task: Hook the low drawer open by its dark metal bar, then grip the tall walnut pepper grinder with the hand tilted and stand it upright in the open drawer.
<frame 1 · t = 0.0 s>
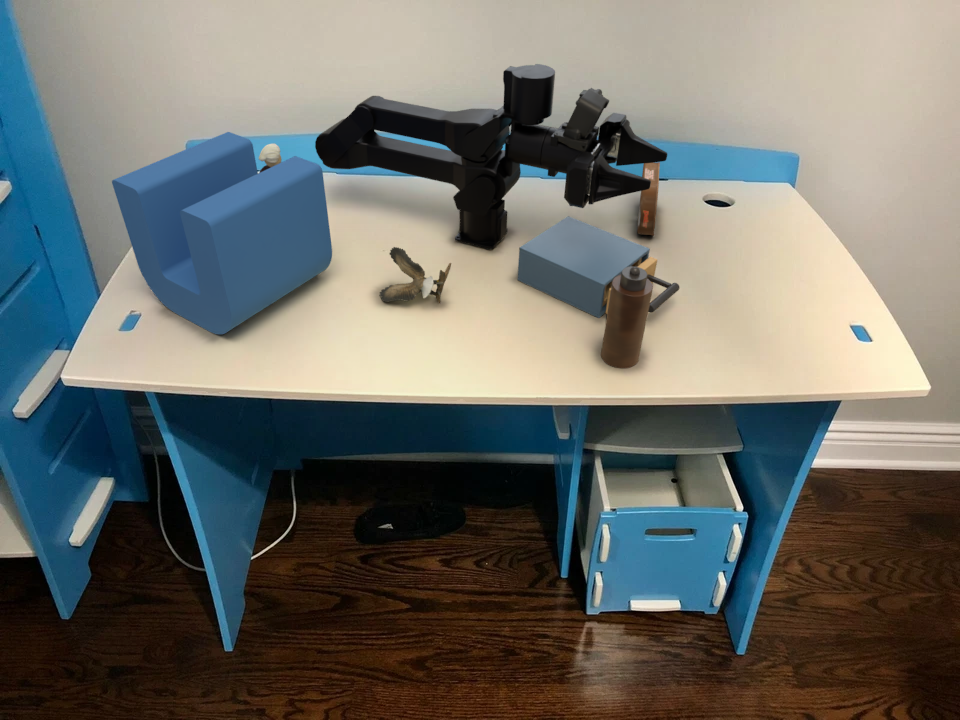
hand: (658, 170, 101), 17 cm above the table, tool horizontal, fingers open, 9 cm apart
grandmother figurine: (282, 220, 122), on the table
cabinet: (580, 280, 110), on the table
drawer: (609, 276, 106), point 3 cm above the table, slide at 0.5 cm
tin: (644, 222, 124), on the table
block: (244, 292, 106), on the table
eagle figurine: (413, 297, 106), on the table
grinder: (619, 356, 97), on the table
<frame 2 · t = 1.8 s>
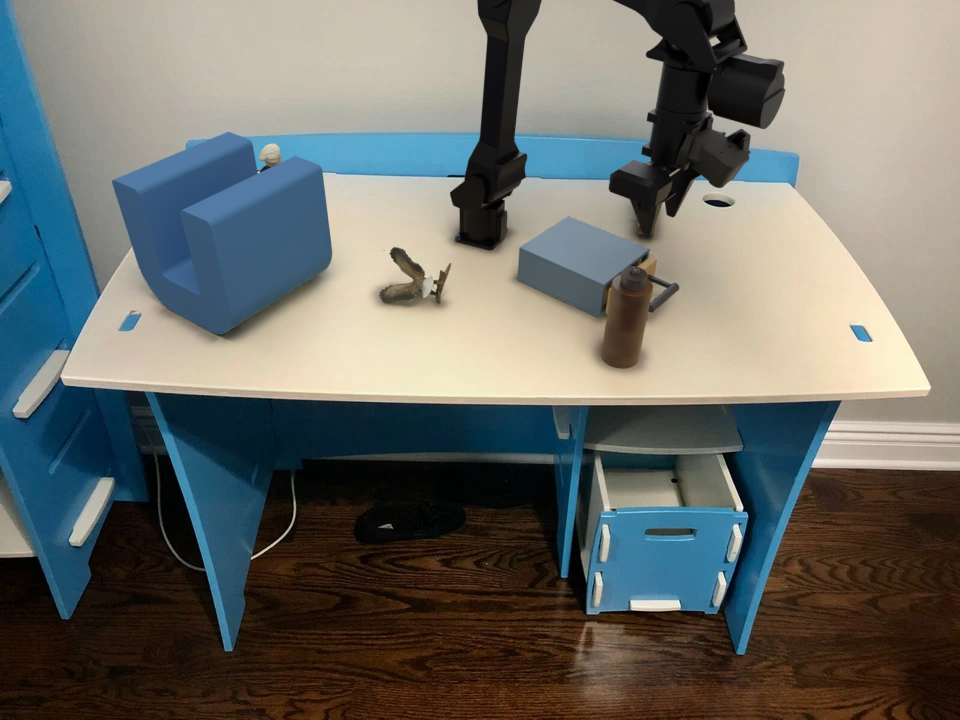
hand: (658, 225, 96), 13 cm above the table, tool pointing down, fingers open, 6 cm apart
nothing on the table moved.
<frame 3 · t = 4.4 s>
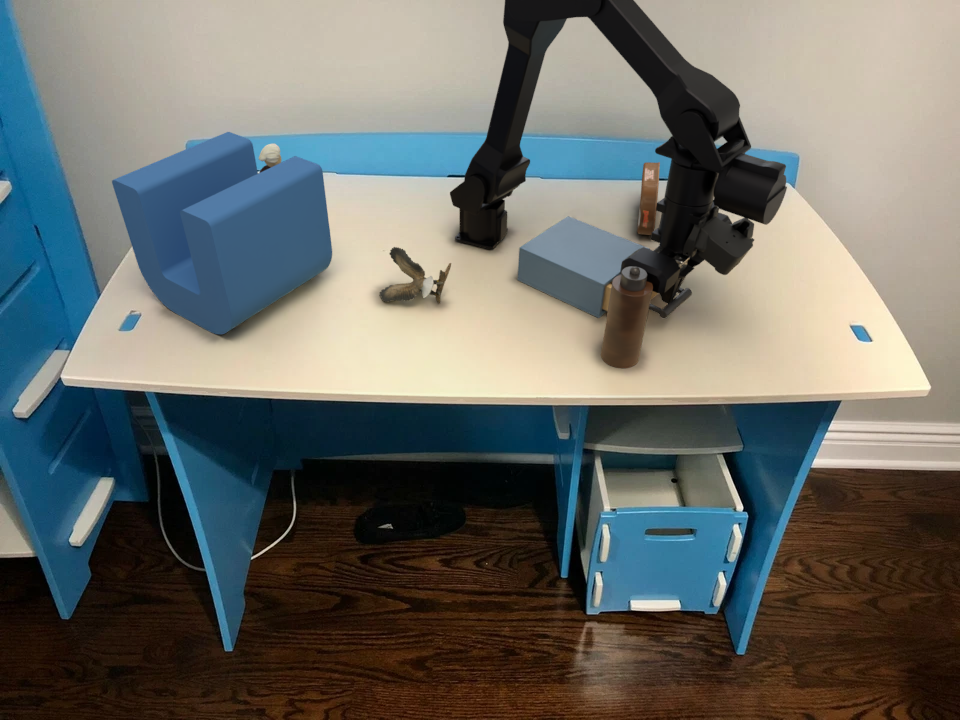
hand: (667, 301, 102), 3 cm above the table, tool pointing down, fingers closed, pressing on drawer
drawer: (621, 281, 105), point 3 cm above the table, slide at 2.4 cm, touching gripper
everything else where it was.
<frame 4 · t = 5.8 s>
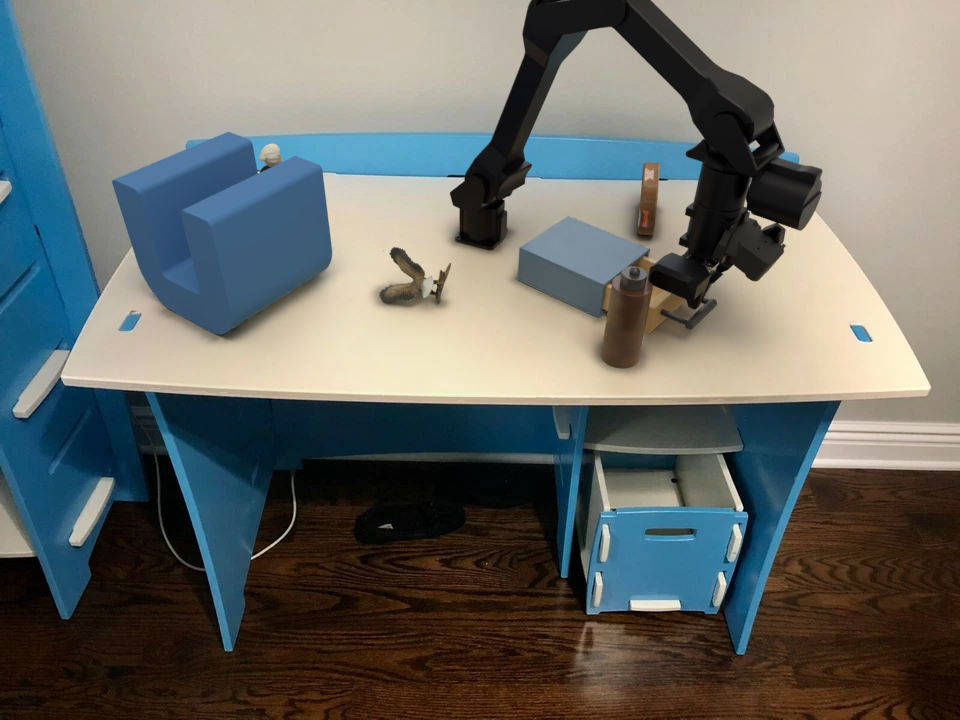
hand: (693, 307, 99), 3 cm above the table, tool pointing down, fingers closed
drawer: (644, 291, 103), point 3 cm above the table, slide at 6.1 cm
everything else where it was.
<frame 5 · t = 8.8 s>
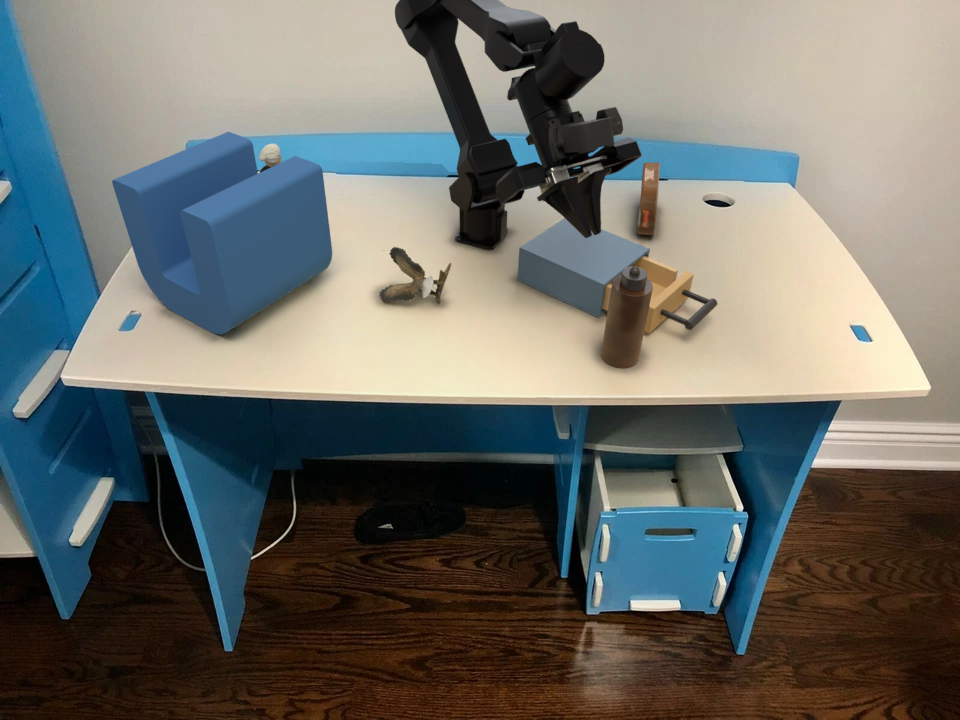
hand: (593, 235, 93), 13 cm above the table, tool tilted 45°, fingers closed
nothing on the table moved.
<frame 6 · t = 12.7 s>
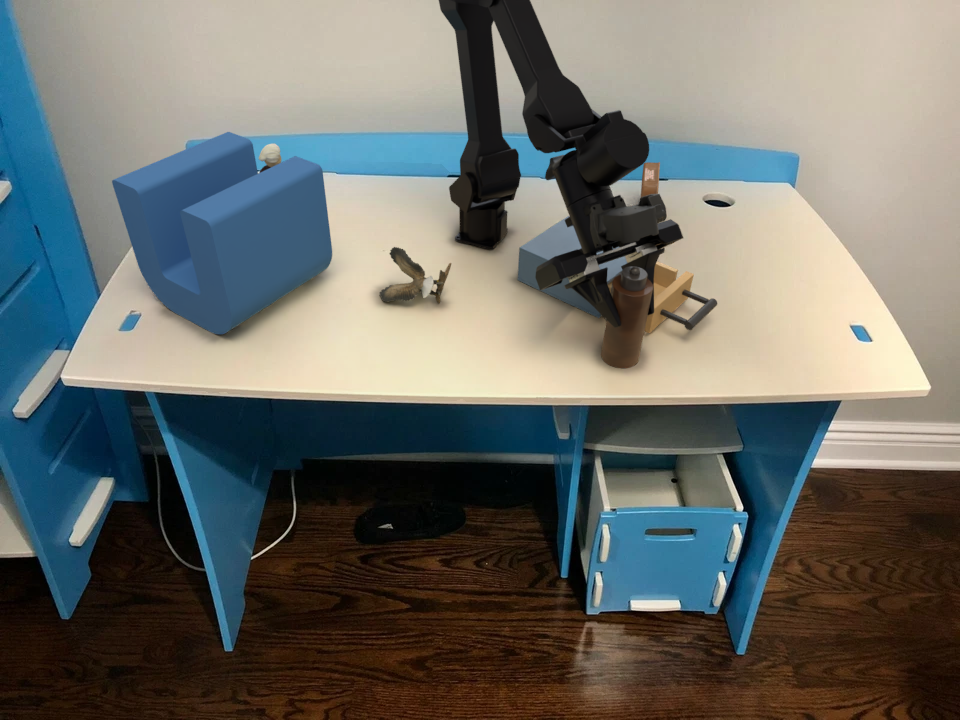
hand: (634, 320, 92), 7 cm above the table, tool tilted 45°, fingers closed on grinder, 5 cm apart
grinder: (619, 356, 97), on the table, touching gripper
everything else where it was.
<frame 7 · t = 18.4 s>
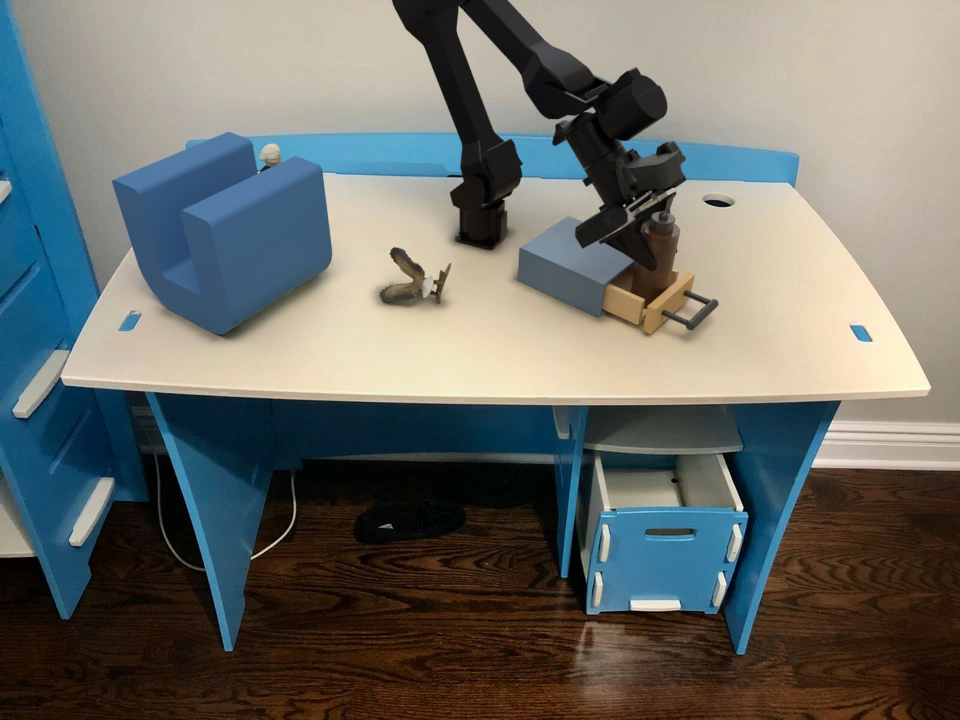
hand: (664, 262, 99), 8 cm above the table, tool tilted 45°, fingers closed on grinder, 5 cm apart
drawer: (645, 291, 103), point 3 cm above the table, slide at 6.3 cm, touching grinder
grinder: (647, 299, 104), point 2 cm above the table, touching drawer, gripper
everything else where it was.
when the fingers open (8 cm above the table, at t = 18.6 s): grinder stays where it is, resting on drawer.
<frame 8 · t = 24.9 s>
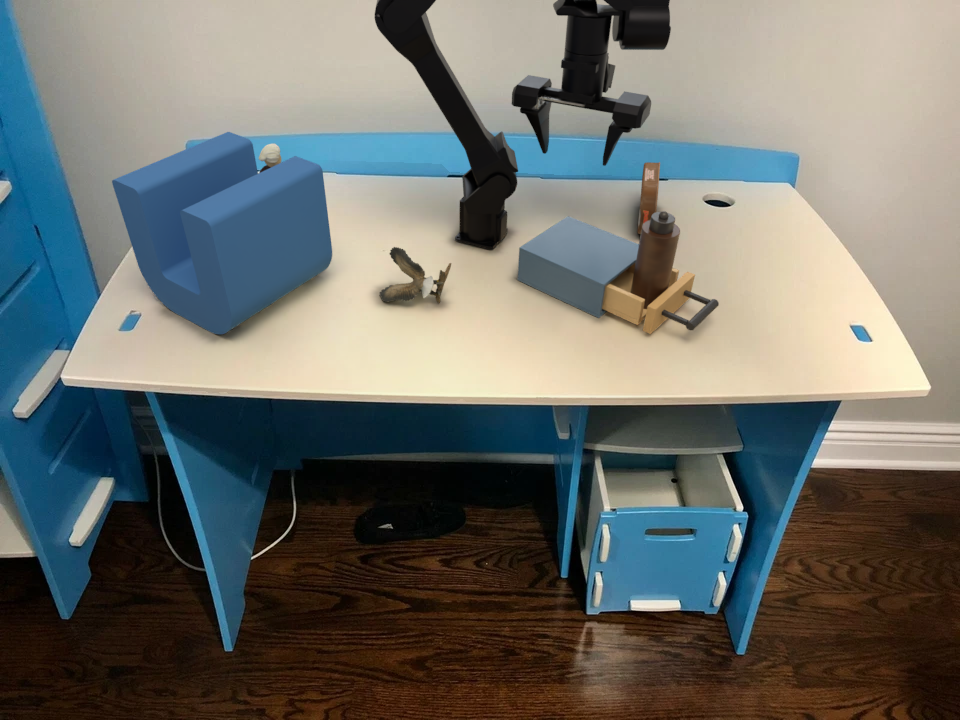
hand: (574, 158, 111), 13 cm above the table, tool pointing down, fingers open, 9 cm apart
grinder: (647, 299, 104), point 2 cm above the table, touching drawer
everything else where it was.
at the end: drawer slide at 6.3 cm; grinder 0.1 cm from the target spot in the drawer, point 1.7 cm above the cabinet's base; grinder tilted 0° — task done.
